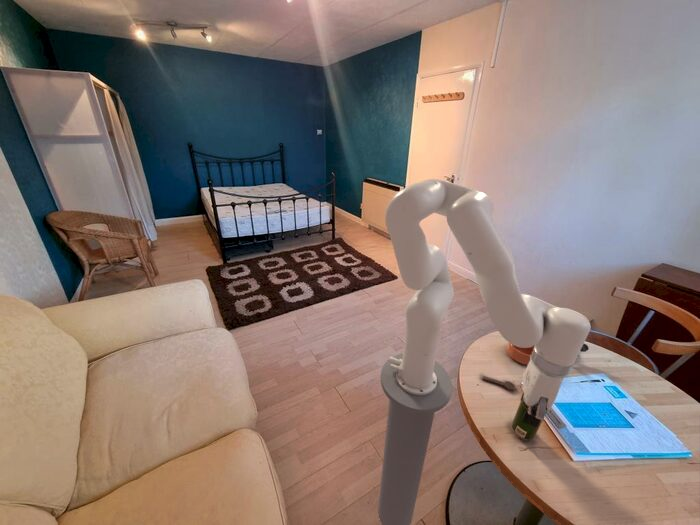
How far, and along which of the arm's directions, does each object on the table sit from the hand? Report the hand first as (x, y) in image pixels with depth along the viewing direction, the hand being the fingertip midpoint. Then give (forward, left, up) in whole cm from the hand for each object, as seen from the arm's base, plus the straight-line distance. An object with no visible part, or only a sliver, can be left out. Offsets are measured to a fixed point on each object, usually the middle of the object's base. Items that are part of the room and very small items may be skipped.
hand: (528, 412), depth 71 cm
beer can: (0, 0, -7) cm, 7 cm away
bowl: (+2, +31, -7) cm, 32 cm away
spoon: (-5, +14, -7) cm, 17 cm away
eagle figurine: (+16, +38, -7) cm, 42 cm away
